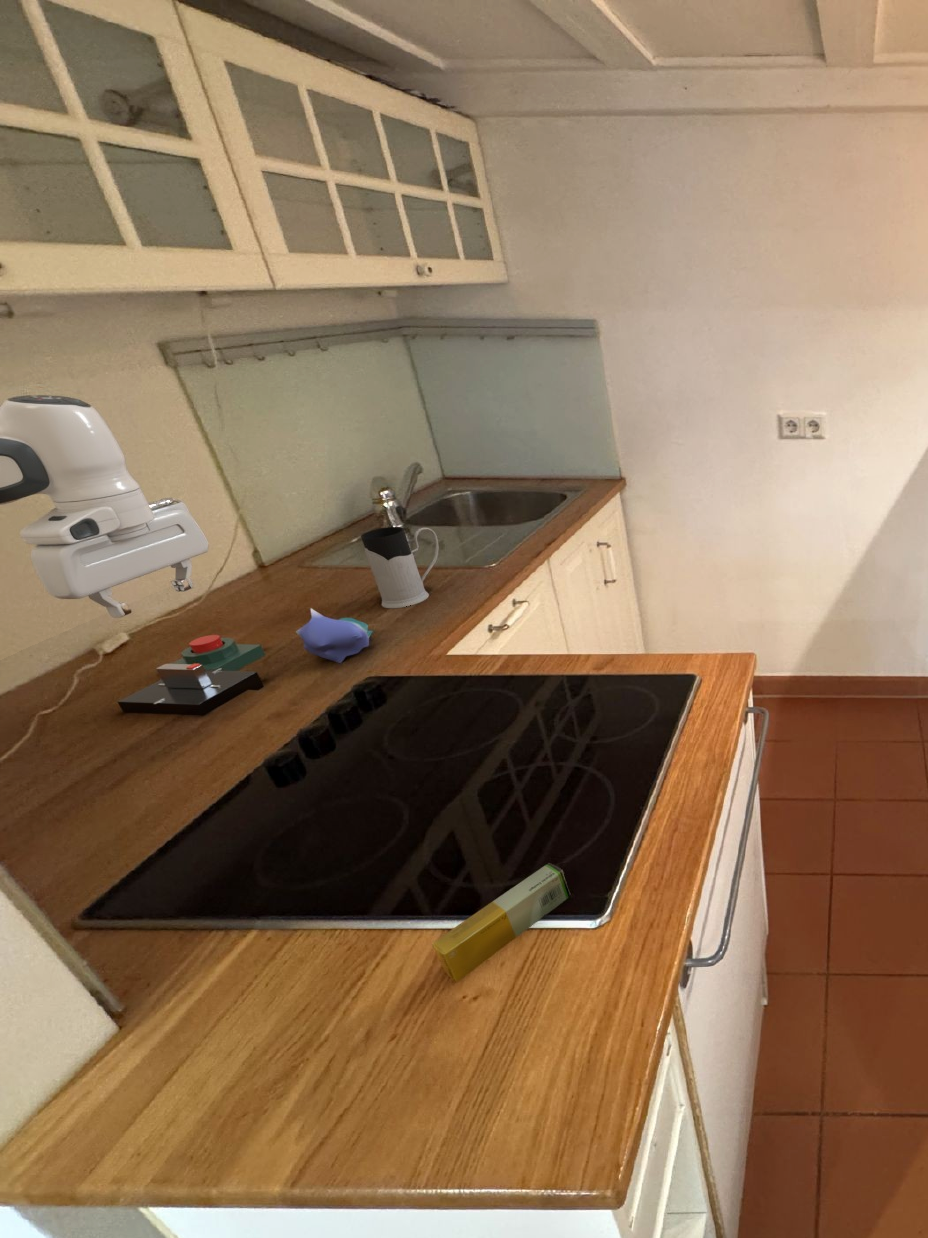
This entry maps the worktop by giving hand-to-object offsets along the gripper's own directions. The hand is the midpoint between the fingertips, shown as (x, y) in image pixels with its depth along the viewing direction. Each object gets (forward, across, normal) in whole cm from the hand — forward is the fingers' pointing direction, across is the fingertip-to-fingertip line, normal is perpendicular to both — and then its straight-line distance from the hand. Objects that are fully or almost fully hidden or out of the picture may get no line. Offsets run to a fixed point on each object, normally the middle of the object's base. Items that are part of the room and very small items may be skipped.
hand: (155, 602), depth 102 cm
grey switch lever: (+14, +1, 0) cm, 14 cm away
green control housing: (+17, -10, -8) cm, 21 cm away
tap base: (+17, +1, 0) cm, 17 cm away
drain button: (+13, -10, -8) cm, 18 cm away
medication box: (+17, +40, +76) cm, 88 cm away
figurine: (+17, -15, +12) cm, 26 cm away
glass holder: (+17, -42, +8) cm, 46 cm away
